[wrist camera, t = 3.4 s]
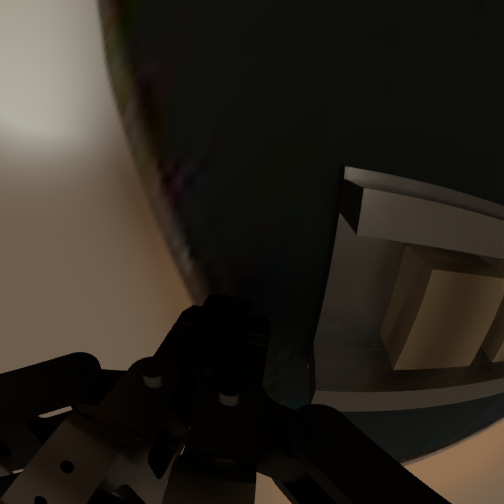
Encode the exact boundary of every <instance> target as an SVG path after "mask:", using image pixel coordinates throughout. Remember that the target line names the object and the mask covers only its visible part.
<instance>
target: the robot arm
mask: <svg viewBox="0 0 504 504" xmlns="http://www.w3.org/2000/svg"><path fill="white" fill-rule="evenodd" d="M252 310H253V300H252V299H245V298H238V297H230V296H223V295H216V294H209V295H208V297H207V299H206V301H205V302H204V304H203V306H197V305H192V306H191V307H189V308H188V309H186V310H185V311H183V312H182V313H181V315H180V316H179V318H178V319H177V322H176V323H175V324H174V325H173V327H172V330H170V331H169V333H168V334H167V336H166V337H165V339H164V341H163V342H162V344H161V345H160V347H159V348H158V350H157V351H156V353H155V354H154V356H152V357H146V358H142V359H140V360H138V361H136V362H135V363H133V364H132V365H131V367H130V368H129V369H128V370H127V371H120V370H106V369H101V367H100V364H99V361H98V360H97V358H95V357H94V356H93V355H91V354H89V353H85V352H76V353H71V354H68V355H65V356H61V357H58V358H55V359H51V360H48V361H44V362H41V363H38V364H35V365H31V366H27V367H24V368H20V369H16V370H13V371H9V372H5V373H2V374H0V504H254V501H255V489H256V472H259V473H261V474H263V475H266V476H268V477H271V478H272V479H273V481H274V482H275V484H276V485H277V487H278V488H279V489H280V490H281V491H282V492H283V494H284V495H285V496H286V497H287V499H288V500H289V501H290V502H291V503H292V504H452V503H450V502H448V501H447V500H446V499H445V498H443V497H442V496H440V495H439V494H438V493H436V492H435V491H434V490H432V489H431V488H430V487H428V486H427V485H426V484H425V483H423V482H422V481H421V480H419V479H418V478H417V477H416V476H414V475H413V474H412V473H410V472H409V471H408V470H407V469H405V468H404V467H403V466H402V465H401V464H399V463H398V462H397V461H396V460H395V459H393V458H392V457H391V456H390V455H389V454H387V453H386V452H385V451H384V450H383V449H381V448H380V447H379V446H378V445H377V444H376V443H374V442H373V441H372V440H371V439H370V438H369V437H367V436H366V435H365V434H364V433H363V432H362V431H361V430H360V429H358V428H357V427H356V426H355V425H354V424H353V423H352V422H351V421H349V420H348V419H347V418H346V417H345V416H344V415H343V414H342V413H341V412H339V411H338V410H336V409H335V408H333V407H330V406H327V405H323V404H309V405H305V406H302V407H300V408H298V409H297V410H294V409H291V408H288V407H286V406H283V405H281V404H279V403H277V402H275V401H274V400H272V399H271V398H270V397H269V396H268V395H267V393H266V392H265V390H264V388H263V376H264V369H265V363H266V356H267V349H268V342H269V335H270V328H271V325H270V323H269V321H268V319H267V317H266V316H264V315H256V314H252ZM68 406H71V407H72V409H73V410H71V411H67V412H64V413H61V414H58V415H55V416H51V417H48V418H41V417H39V416H38V415H41V414H45V413H48V412H51V411H55V410H58V409H61V408H64V407H68ZM189 428H190V429H189ZM184 446H185V448H184ZM183 448H184V450H183ZM182 450H183V453H182V454H181V452H182ZM180 454H181V455H180ZM20 469H24V470H23V471H22V472H19V473H15V474H14V473H13V472H12V471H15V470H20ZM167 480H168V481H167ZM166 483H167V485H166ZM165 487H166V488H165Z"/></svg>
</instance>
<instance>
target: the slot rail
mask: <svg viewBox="0 0 504 504" xmlns="http://www.w3.org/2000/svg"><path fill="white" fill-rule="evenodd" d="M406 244H409V245H416V246H422V247H428V248H435V249H441V250H447V251H453V252H459V253H465V254H470V255H476V256H479V257H481V258H482V259H484V260H485V261H486V262H488V263H489V264H490V265H492V266H493V267H494V268H496V269H497V267H498V264H499V261H500V260H503V261H504V206H503V205H500V204H497V203H494V202H491V201H488V200H485V199H482V198H479V197H476V196H473V195H469V194H466V193H463V192H459V191H456V190H452V189H449V188H445V187H441V186H438V185H434V184H430V183H426V182H422V181H417V180H413V179H409V178H404V177H400V176H395V175H390V174H385V173H380V172H375V171H370V170H364V169H358V168H353V167H346V166H341V174H340V182H339V190H338V198H337V206H336V213H335V220H334V226H333V233H332V239H331V245H330V251H329V257H328V262H327V268H326V273H325V278H324V283H323V289H322V293H321V298H320V303H319V308H318V312H317V317H316V321H315V326H314V330H313V334H312V338H311V342H310V347H309V351H308V354H307V369H309V404H323V405H327V406H330V407H333V408H335V409H336V410H338V411H388V410H403V409H414V408H424V407H432V406H439V405H446V404H452V403H458V402H463V401H469V400H473V399H478V398H483V397H487V396H491V395H495V394H499V393H502V392H504V361H500V362H493V363H492V362H491V361H490V359H489V358H488V356H487V355H486V354H485V352H484V351H483V349H482V348H481V346H480V348H479V350H478V352H477V353H476V355H475V357H474V359H473V360H472V362H471V364H470V366H460V367H449V368H434V369H412V370H393V368H392V365H391V362H390V359H389V357H388V354H387V351H386V348H385V346H384V343H383V340H382V338H381V335H380V333H379V332H380V329H381V327H382V324H383V321H384V318H385V315H386V312H387V309H388V306H389V303H390V300H391V297H392V293H393V290H394V287H395V283H396V280H397V276H398V273H399V269H400V265H401V262H402V258H403V254H404V249H405V245H406Z"/></svg>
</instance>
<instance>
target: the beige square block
mask: <svg viewBox="0 0 504 504" xmlns="http://www.w3.org/2000/svg"><path fill="white" fill-rule="evenodd" d="M503 295H504V275H503V274H502V273H501V272H500V271H498V270H497V269H496V268H494V267H493V266H492V265H490V264H489V263H488V262H486V261H485V260H484V259H482V258H481V257H479V256H476V255H470V254H465V253H459V252H453V251H447V250H441V249H435V248H428V247H422V246H416V245H409V244H406V245H405V249H404V254H403V258H402V262H401V265H400V269H399V273H398V276H397V280H396V283H395V287H394V290H393V293H392V297H391V300H390V303H389V306H388V309H387V312H386V315H385V318H384V321H383V324H382V327H381V329H380V332H379V333H380V335H381V338H382V340H383V343H384V346H385V348H386V351H387V354H388V357H389V359H390V362H391V365H392V368H393V370H412V369H434V368H449V367H460V366H470V364H471V362H472V360H473V359H474V357H475V355H476V353H477V352H478V350H479V348H480V346H481V344H482V342H483V340H484V338H485V336H486V334H487V332H488V330H489V328H490V326H491V324H492V322H493V319H494V317H495V315H496V313H497V310H498V308H499V305H500V303H501V301H502V298H503Z"/></svg>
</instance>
